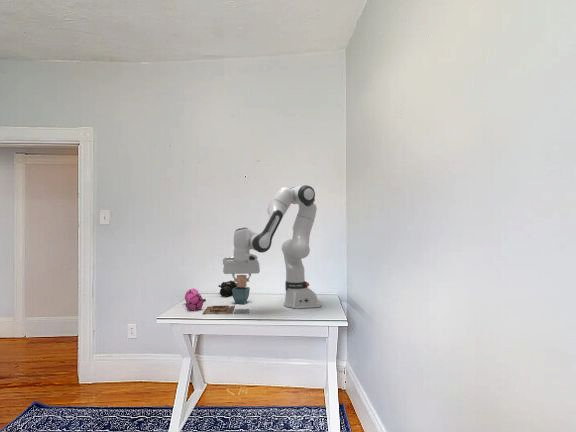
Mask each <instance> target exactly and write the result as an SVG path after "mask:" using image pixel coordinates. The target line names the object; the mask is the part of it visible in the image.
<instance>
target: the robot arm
mask: <svg viewBox="0 0 576 432" xmlns="http://www.w3.org/2000/svg"><path fill="white" fill-rule="evenodd" d="M315 199H316V193H315V190H314V187H312V186H311V185H307V184H305V185H297V186H292V187H291V188H290V187H288V186H282V187H280V188H279V189H278V191H277V192H276V193H275V194H274V196H272V198H271V200H270V202H269V203H268V206H267V209H266V211H267V213H268V216H269V218H268V220H267V223H266V224H265V226H264V228H263V229H262V231H261V232H259V233H257V232H255V231H252V230H251V229H249V228H248V227H240V228H237V229H235V231H234V232H233V246H234V249H233V256H230V257H229V256H225V257H224V258H223V259H222V265H223V270H222V272H223V274H224V275H231V276H232V279H233V281H234V282H235V283H237V277H236V275H248V277H247V279H246V280H247V283H248V282H250V278H251V276H252V274H253V275H254V274H255V275H256V274H259V273H260V272H261V271H260V270H261V269H260V268H261V267H260V262H259V260H258V256H257V255H256V254H252V253H251V252H250V250H253V251H256V252H257V253H263V254H264V253H266V252H267V251H269V250H270V249H271V247H272V243H273V238H274V236H275V233H276V232H277V229H278V227H279V225H281V224H280V223H281V221H282V219H283V218H284V216H285V214H286V213H287V211H288V210H289V208H290V206H291V205H292V204H293V205H298V212H297V215H296V216H295V220H294V222H293V226H292V238H290V239H287V240H286V241H283V243H282V244H281V251H282V254H283V257H284V258H283V259H284V264H285V265H284V266H285V282H284V284H285V285H284V286H285V297H284V302H283V306H284V307H287V308H293V309H295V310H296V309H309V308H312V309H313V308H320V307H321V306H322V303H321V301H320V300H318V296H317V294H316V293H315V292H314V291H313V290H312V289H311V288H309V286H310V283H309V282H307V281H305V267H304V264H303V261H302V260H303V259H306V258H307V257H308V256H309V255H310V252H311V249H310V236H311V233H312V228H313V225H314V222H315V218H316V215H317V208H318V207H317V205H316V203H315Z"/></svg>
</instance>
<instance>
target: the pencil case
mask: <svg viewBox="0 0 576 432" xmlns="http://www.w3.org/2000/svg"><path fill="white" fill-rule="evenodd" d="M184 300H185V302H186V305H187V308H188V309H189V310H190V311H193V312H194V311H199V310H200V309H202V307H203V306H204V303H205V302H207V301H206V298H204V299H203V297H202V295H201V293H199V290H198V289H196V288H191V289H188V290H187V291H186V293H185V294H184Z"/></svg>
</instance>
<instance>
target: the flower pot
mask: <svg viewBox="0 0 576 432" xmlns="http://www.w3.org/2000/svg"><path fill="white" fill-rule="evenodd" d="M250 289H251V288H250V287H248V286H246V287H235V288H234V289H232V293H233V296H232V298H233V301H234V302H235V304H240V305H242V304H245V303H246V302H247V301H248V300H249V297H250Z"/></svg>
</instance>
